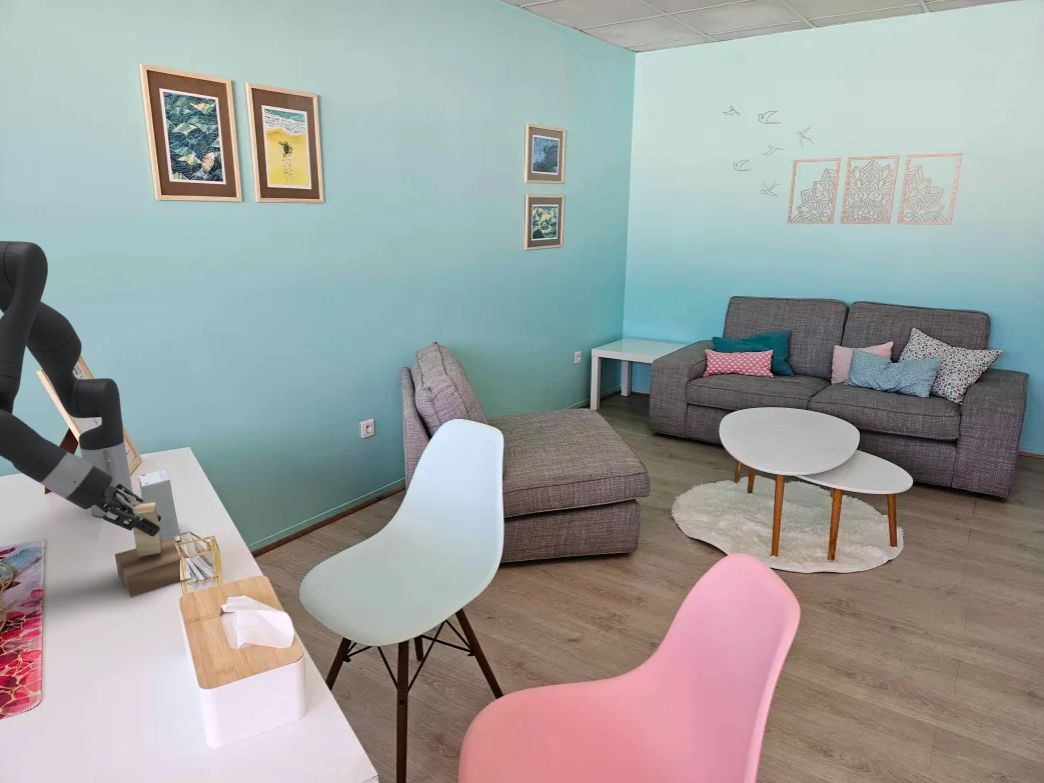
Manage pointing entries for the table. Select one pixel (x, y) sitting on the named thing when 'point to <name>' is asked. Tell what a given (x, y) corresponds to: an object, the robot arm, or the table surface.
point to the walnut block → (149, 568)
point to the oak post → (143, 540)
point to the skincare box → (160, 501)
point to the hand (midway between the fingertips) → (157, 526)
